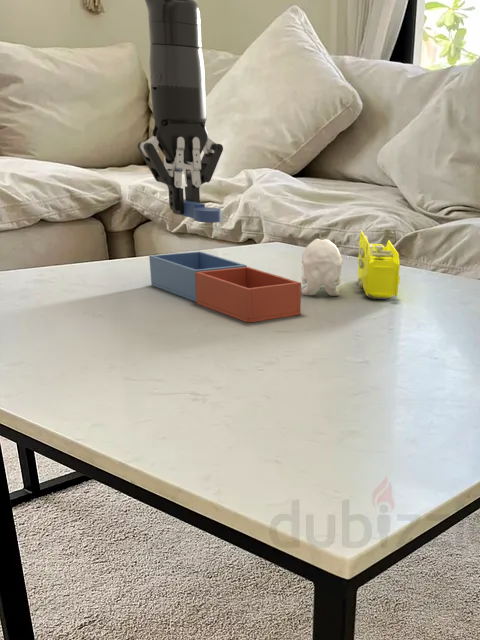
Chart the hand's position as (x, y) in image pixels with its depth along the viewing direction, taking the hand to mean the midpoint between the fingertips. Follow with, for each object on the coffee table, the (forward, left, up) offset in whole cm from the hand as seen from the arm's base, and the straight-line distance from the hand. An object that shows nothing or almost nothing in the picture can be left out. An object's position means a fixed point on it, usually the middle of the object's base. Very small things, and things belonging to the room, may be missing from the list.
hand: (185, 213), depth 118 cm
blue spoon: (0, -3, 0) cm, 3 cm away
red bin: (-1, -16, -11) cm, 20 cm away
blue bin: (0, -3, -11) cm, 11 cm away
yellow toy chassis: (+25, -16, -11) cm, 32 cm away
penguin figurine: (+16, -12, -11) cm, 24 cm away
